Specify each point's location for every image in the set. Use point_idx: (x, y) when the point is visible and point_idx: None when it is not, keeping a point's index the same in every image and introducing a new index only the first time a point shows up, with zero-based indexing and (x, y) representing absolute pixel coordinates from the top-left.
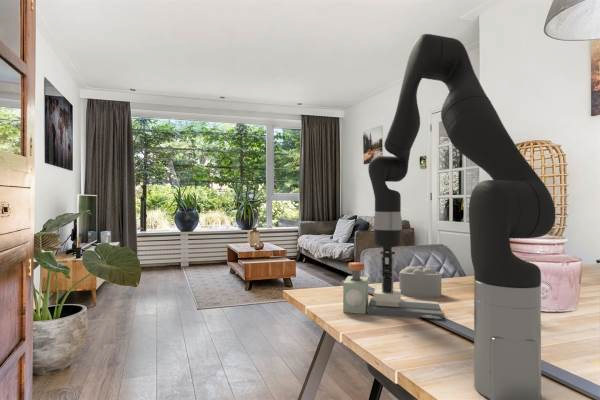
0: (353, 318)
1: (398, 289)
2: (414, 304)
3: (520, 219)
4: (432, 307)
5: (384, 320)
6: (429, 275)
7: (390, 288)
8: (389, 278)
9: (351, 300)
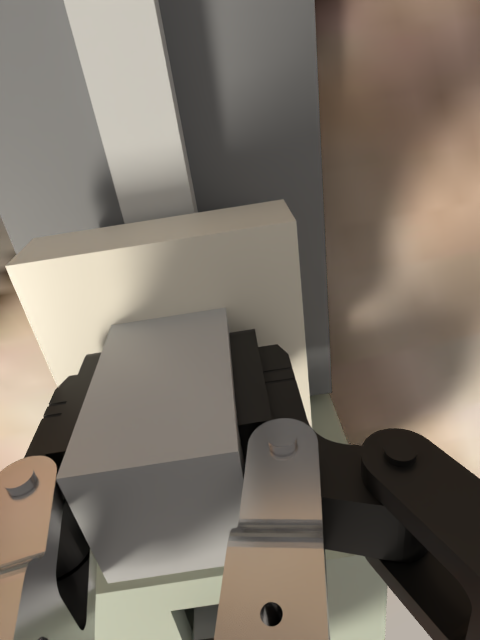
0: (428, 408)
1: (29, 285)
2: (168, 63)
3: None
4: None
5: (431, 255)
6: None
7: (260, 351)
8: (321, 439)
9: None
